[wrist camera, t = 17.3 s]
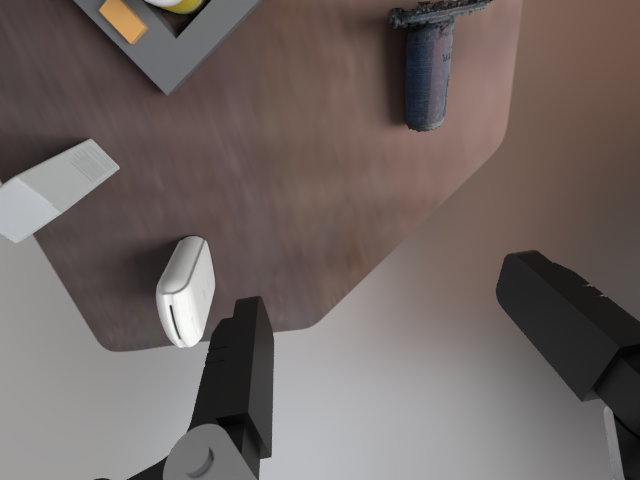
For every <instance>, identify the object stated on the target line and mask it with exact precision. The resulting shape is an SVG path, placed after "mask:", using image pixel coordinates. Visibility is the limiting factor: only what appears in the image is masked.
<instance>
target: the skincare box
mask: <svg viewBox="0 0 640 480" xmlns="http://www.w3.org/2000/svg"><path fill="white" fill-rule="evenodd" d="M119 169H120V167H119V166H118V165H117V164H116V163H115V162H114V161H113V160H112V159H111V158H110V157H109V156H108V155H107V154H106V153H105V152H104V151H103V150H102V149H101V148H100V147H99V146H98V145H97V144H96V143H95V142H94V141H93V140H92V139H88V140H86V141H84V142H82V143H80V144H78V145H76V146H74V147H72V148H70V149H68V150H66V151H64V152H62V153H60V154H58V155H56V156H54V157H52V158H50V159H48V160H46V161H44V162H42V163H40V164H38V165H36V166H34V167H32V168H30V169H28V170H26V171H24V172H22V173H20V174H18V175H16V176H14V177H13V178H11V179H10V180H9V181H7V182H6V183H4V184H3V185H1V186H0V234H2V235H3V236H5V237H6V238H8V239H9V240H11V241H12V242H14V243H18V242H20V241H22V240H23V239H25V238H26V237H28V236H30V235H31V234H33V233H34V232H36V231H37V230H39V229H40V228H41V227H43V226H44V225H46V224H47V223H49V222H50V221H52V220H53V219H54V218H56V217H57V216H59V215H60V214H62V213H63V212H64V211H66V210H67V209H68V208H70V207H71V206H72V205H74V204H75V203H76V202H78V201H79V200H80V199H81V198H83V197H84V196H85V195H87V194H88V193H89V192H90V191H92V190H93V189H94V188H96V187H97V186H98V185H99V184H101V183H102V182H103V181H105V180H106V179H107V178H108V177H110V176H111V175H112V174H114V173H115V172H116V171H117V170H119Z"/></svg>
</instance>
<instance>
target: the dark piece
mask: <svg viewBox="0 0 640 480" xmlns="http://www.w3.org/2000/svg"><path fill="white" fill-rule="evenodd" d="M492 1H493V0H457V1H452V0H451V1H450V2H449V0H448V1H447V2H446V3H445V4H444V0H443V1H440V2H435V3H434V5H433V7H432V8H431V10H430V9H429V8H428V6H427V7H425V8H423V9H422V7H421V6H424V5H427V4H430V1H427V2H418V3H420V4H421V6H418V7H417V8H416V9H412V10H413V11H411V12H410V13H408V11H404V10H403V9H402V8H395V9H393V12H392V13H390V14H389V16H388V17H387V18H388V19H389V18H390V19H389V22H391V25H392V26H391V28H394V29H395V28H398V27H400V26H401V28H405V27H407V26H408V23H410V24H411V25H410V31H409V32H410V33H409V34H408V36H407V39H406V88H405V122H406V124H407V126H408V128H409V129H412V130H416V131H418V132H421V131H424V132H426V131H429V130H433V129H434V130H435V129H436V128H437V127H440V125H441V123H442V122H443V120H444V119H445V112H446V104H447V93H448V83H449V74H450V63H451V54H452V44H453V34H454V22H455V21H454V17H456V16H457V15H458V14H461V16H463V14H464V13H466V12H467V11H469V15H470V14H471V13H472V11H473V10H475V11H476V10H479V9H480V10H481V8H483V9H484V8H485V6H487V5H486V4H487V3H491V2H492ZM494 2H495V1H494ZM432 4H433V3H432ZM426 8H427V10H426V11H425V9H426ZM402 11H403V12H402Z"/></svg>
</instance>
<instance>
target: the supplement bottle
mask: <svg viewBox="0 0 640 480" xmlns="http://www.w3.org/2000/svg"><path fill="white" fill-rule="evenodd" d="M145 1H146V2H148V3H151V4H153V5H156V6H158V7H161V8H163V9H166V10H169V11H172V12H174V13H177V14H184V15H186V14H192V13H195V12H197V11H198V10H200V9H201V8H202V6H203V5H204V4H205V2H206V0H145Z"/></svg>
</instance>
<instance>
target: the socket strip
mask: <svg viewBox="0 0 640 480" xmlns="http://www.w3.org/2000/svg"><path fill="white" fill-rule="evenodd" d="M74 1H75V2H76V3H77V4H78V5H79V6H80V7H81V8H82V9H83V10H84V11H85V12H86V13H87V15H88V16H89V17H90V18H91V19H92V20H93V21H94V22H95V23H96V24H97V25H98V26H99V27H100V28H101V29H102V30H103V31H104V32H105V33H106V34H107V35H108V36H109V37H110V38H111V39H112V40H113V41H114V42H115V43H116V44H117V45H118V46H119V47H120V48H121V49H122V50H123V51H124V52H125V53H126V54H127V55H128V56H129V57H130V58H131V59H132V60H133V61H134V62H135V63H136V64H137V65H138V66H139V67H140V68H141V69H142V70H143V71H144V72H145V73H146V74H147V75H148V76H149V77H150V79H151V80H152V81H153V82H154V83H155V84H156V85H157V86H158V87H159V88H160V89H161V90H162V91H163V92H164V93H165V94H166V95H169V94H172V93H174V92H175V91H176V90H177V89H178V88H179V87H180V86H181V85H182V84H183V83H184V82H185V81H186V80H187V79H188V78H189V77H190V76H191V75H192V74H193V73H194V72H195V71H196V70H197V69H198V68H199V67H200V66H201V65H202V64H203V62H204V61H205V60H206V59H207V58H208V57H209V56H210V55H211V54H212V53H213V52H214V51H215V50H216V49H217V48H218V47H219V46H220V45H221V44H222V43H223V42H224V41H225V40H226V39H227V38H228V37H229V36H230V35H231V34H232V33H233V32H234V31H235V30H236V29H237V27H238V26H239V25H240V24H241V23H242V22H243V21H244V20H245V19H246V18H247V17H248V16H249V15H250V14H251V13H252V12H253V11H254V10H255V9H256V8H257V7H258V6H259V5H260V4H261V3H262V2H263V1H264V0H211V1H210V2H209V4H208V5H207V6H206V7H205V8H204V9H203V10H202V11H201V12H200V13H199V14H198V16H197V17H196V18H195V19H194V20H193V21H192V22H191V23H190V24H189V25H188V27H187V28H186V29H185V30H184V31H183V32H182V33H181V34H180V35H179V34H178V33H177V32H176V31H175V29H174V28H173V27H172V26H171V25H170V24H169V22H168V21H167V20H166V19H165V18H164V17H163V15H162V14H161V13H160V12H159V11H158V10H157V8H156V7H155V6H154V5H153V4H151V3H148V2H146V1H145V0H74Z"/></svg>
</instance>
